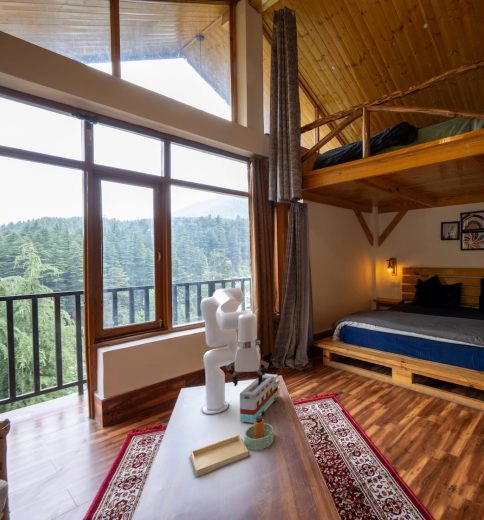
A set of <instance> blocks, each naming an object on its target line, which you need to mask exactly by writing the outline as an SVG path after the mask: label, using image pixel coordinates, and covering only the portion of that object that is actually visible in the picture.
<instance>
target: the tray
mask: <svg viewBox="0 0 484 520" xmlns="http://www.w3.org/2000/svg"><path fill="white" fill-rule="evenodd" d="M246 457H249V449H248V448H246V446H245V442H244V441H243V439H242V438H241V436H240V434H237V435H233V436H231V437H228V438H225V439H223V440H219V441H217V442H213V443H211V444H208V445H205V446H201V447H199V448H196V449H193V450H190V459H191V463H192V466H193V469H194V473H195V476H196V478H198V477H200V476H203V475H205V474H208V473H211V472H213V471H215V470H216V469H218V468H221V467H223V466H226V465H228V464H231V463H233V462H236V461H239V460H241V459H243V458H246Z"/></svg>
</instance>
